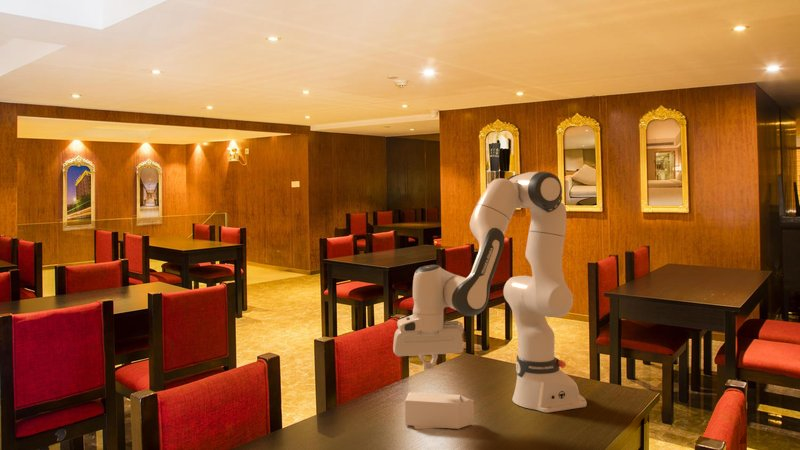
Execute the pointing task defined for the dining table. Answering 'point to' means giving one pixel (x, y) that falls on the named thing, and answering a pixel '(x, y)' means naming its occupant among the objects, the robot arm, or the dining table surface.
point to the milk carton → (438, 410)
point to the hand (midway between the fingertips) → (428, 369)
